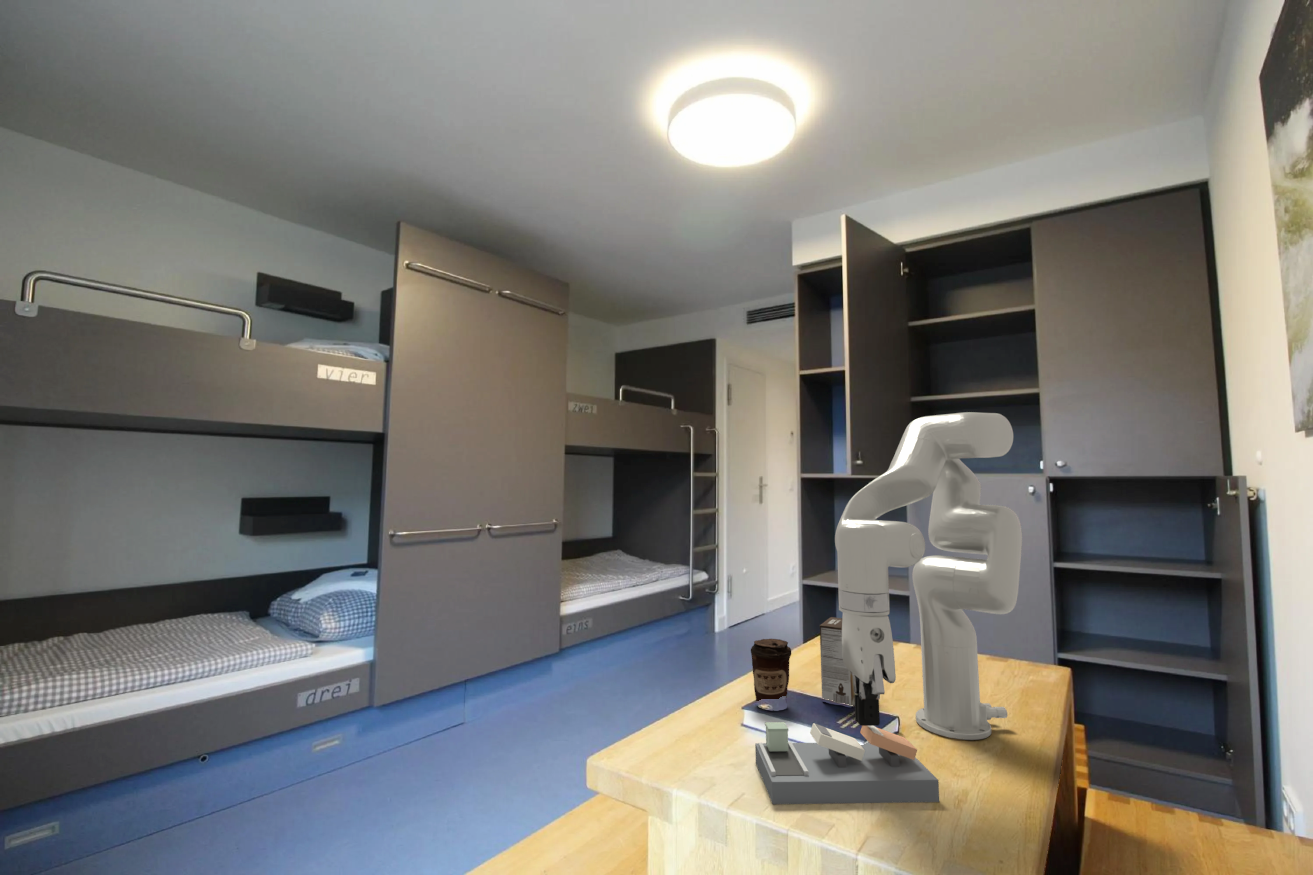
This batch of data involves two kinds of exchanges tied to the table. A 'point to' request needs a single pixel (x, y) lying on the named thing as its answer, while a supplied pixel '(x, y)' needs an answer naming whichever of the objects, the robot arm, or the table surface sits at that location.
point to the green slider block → (776, 736)
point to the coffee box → (834, 664)
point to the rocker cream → (837, 741)
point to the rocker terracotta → (889, 741)
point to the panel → (843, 776)
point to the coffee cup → (770, 668)
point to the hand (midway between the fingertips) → (867, 723)
